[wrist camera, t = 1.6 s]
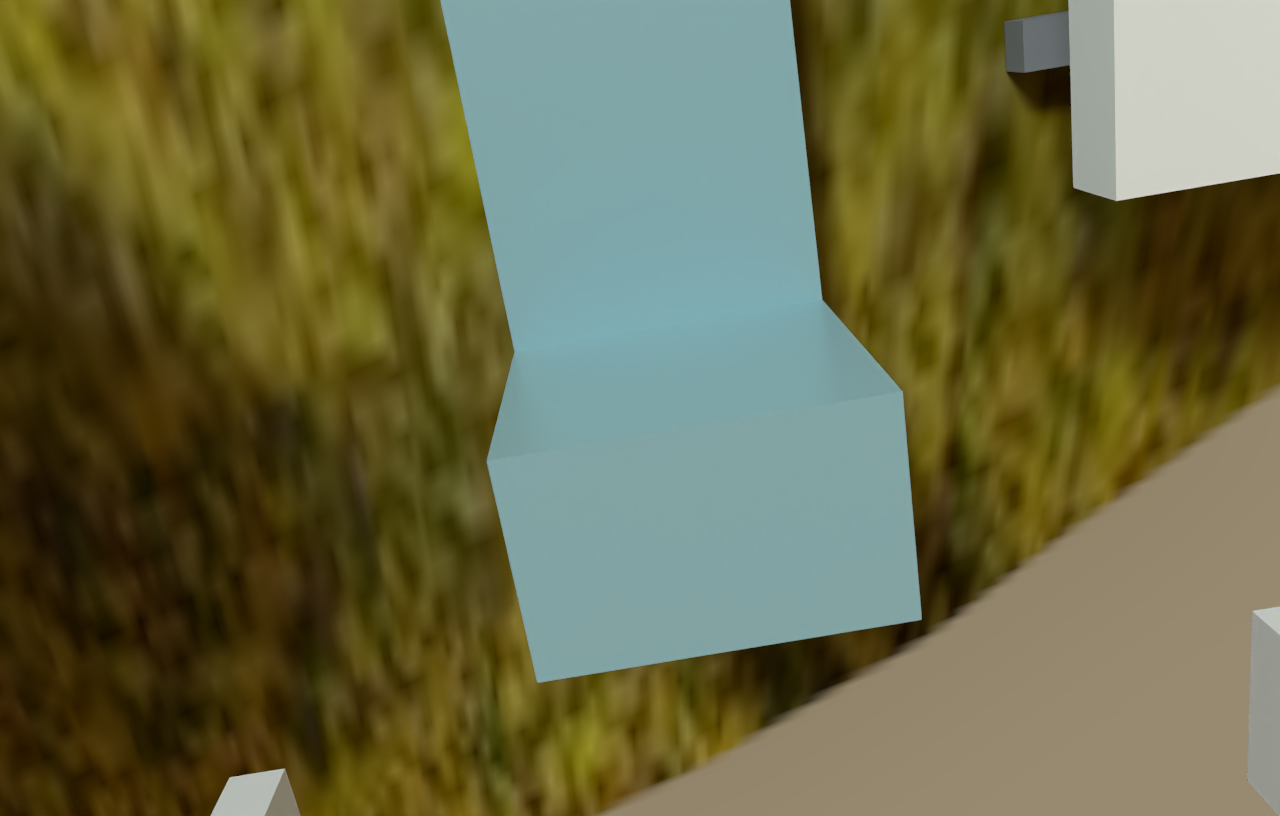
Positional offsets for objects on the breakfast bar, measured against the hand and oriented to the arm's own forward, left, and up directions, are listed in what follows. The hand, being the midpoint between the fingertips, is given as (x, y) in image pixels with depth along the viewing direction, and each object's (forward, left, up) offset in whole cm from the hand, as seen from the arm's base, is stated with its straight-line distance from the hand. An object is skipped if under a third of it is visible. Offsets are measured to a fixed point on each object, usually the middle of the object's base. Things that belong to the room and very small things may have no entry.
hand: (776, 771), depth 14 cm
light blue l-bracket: (0, +9, -16) cm, 18 cm away
